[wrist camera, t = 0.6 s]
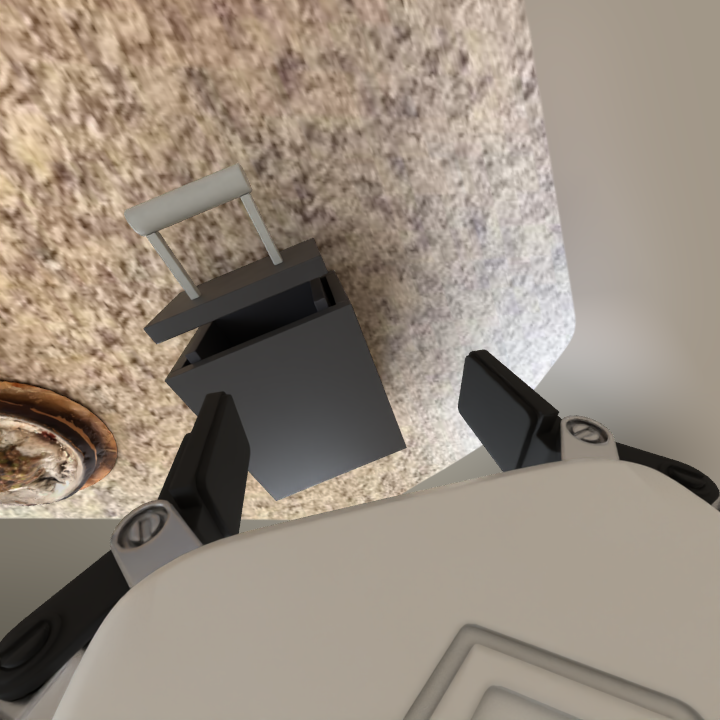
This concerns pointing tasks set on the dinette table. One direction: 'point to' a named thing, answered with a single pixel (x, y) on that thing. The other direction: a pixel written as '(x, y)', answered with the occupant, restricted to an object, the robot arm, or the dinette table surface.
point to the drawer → (237, 288)
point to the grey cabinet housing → (301, 397)
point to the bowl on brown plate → (49, 446)
